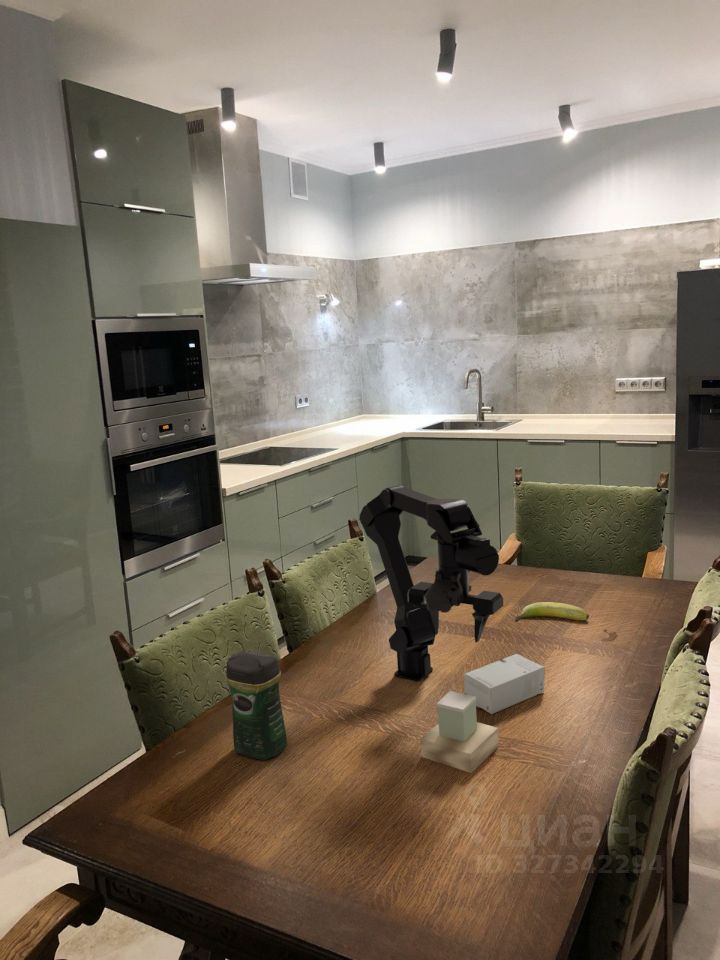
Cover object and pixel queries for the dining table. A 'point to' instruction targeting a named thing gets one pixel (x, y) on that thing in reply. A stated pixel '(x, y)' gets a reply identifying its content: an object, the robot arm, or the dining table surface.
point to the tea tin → (457, 716)
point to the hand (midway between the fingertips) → (456, 638)
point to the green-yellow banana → (559, 613)
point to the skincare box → (504, 683)
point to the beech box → (460, 747)
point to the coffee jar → (256, 705)
